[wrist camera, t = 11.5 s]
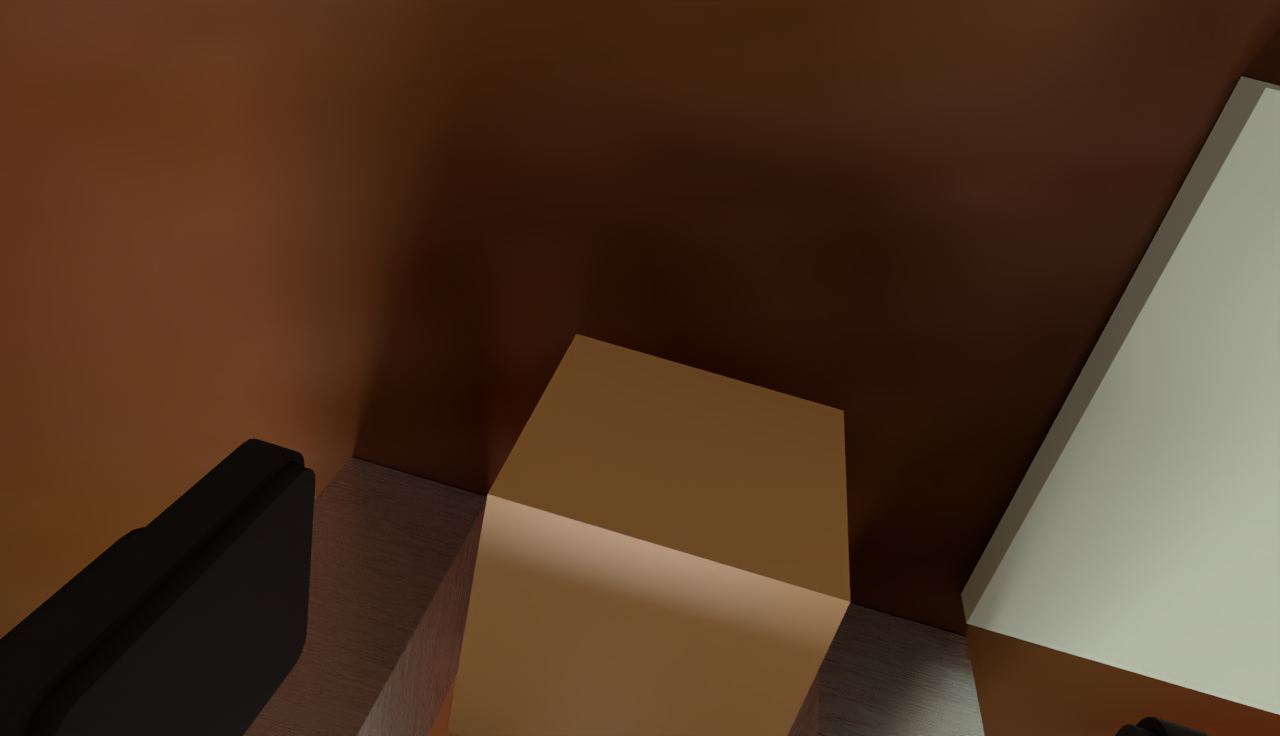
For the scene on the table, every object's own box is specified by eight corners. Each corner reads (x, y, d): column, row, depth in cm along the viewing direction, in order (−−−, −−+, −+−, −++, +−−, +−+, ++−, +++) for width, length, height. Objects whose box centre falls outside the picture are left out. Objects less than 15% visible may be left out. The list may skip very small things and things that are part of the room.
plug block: (576, 331, 16) (487, 494, 12) (843, 408, 16) (850, 602, 12) (534, 536, 19) (447, 731, 14) (764, 604, 19) (745, 824, 14)
